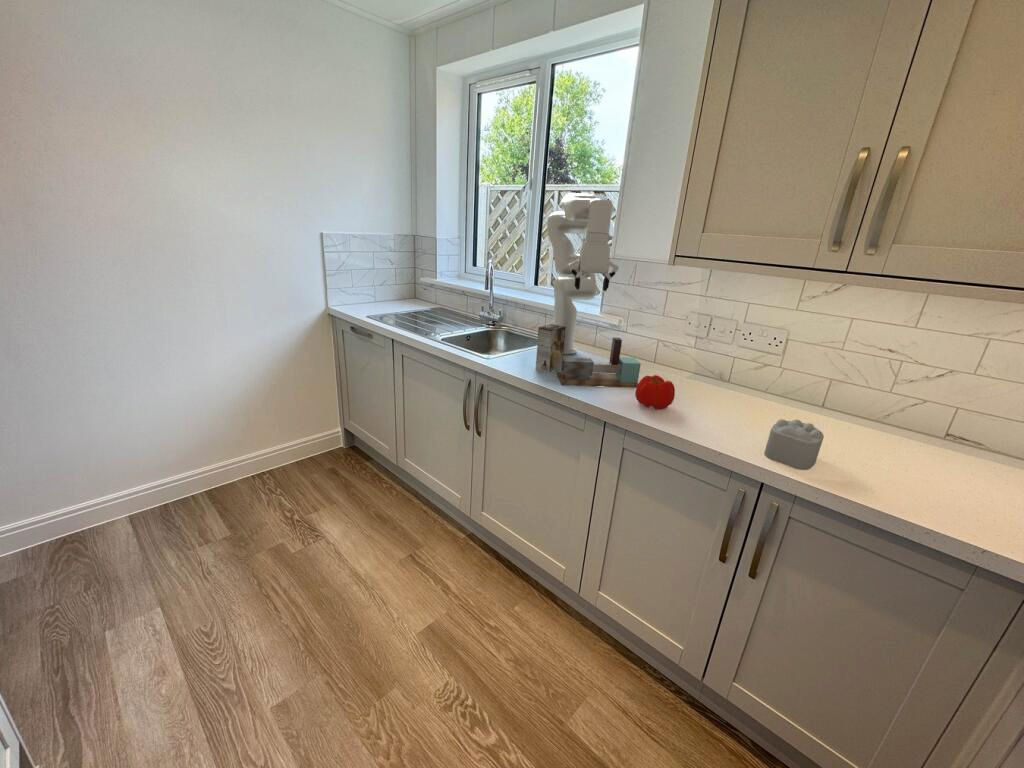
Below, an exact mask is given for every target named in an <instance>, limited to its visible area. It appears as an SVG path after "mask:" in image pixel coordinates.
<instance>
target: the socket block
mask: <svg viewBox="0 0 1024 768" xmlns="http://www.w3.org/2000/svg"><path fill="white" fill-rule="evenodd" d="M619 363H621V364H622V367H621V374H619V373H614V374H615V376H616V377H617V378H618V380H619V381H620V382H628V383H639V379H640V378H639V377H640V372H641V362H640V361H639V360H637V359H636V357H628V356H627V357H625V356H623V357H622V356H620V358H619Z"/></svg>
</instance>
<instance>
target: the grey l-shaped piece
mask: <svg viewBox="0 0 1024 768" xmlns="http://www.w3.org/2000/svg"><path fill="white" fill-rule="evenodd" d="M622 343H623V339H622V338H620V337H612V341H611V348H610V357H609V361H593V362H594V365H593V373H614V374H616V373H619V374H621V367H622V364H621V363H619V358H620V357H621V351H622Z"/></svg>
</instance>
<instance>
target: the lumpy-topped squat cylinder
mask: <svg viewBox="0 0 1024 768" xmlns="http://www.w3.org/2000/svg"><path fill="white" fill-rule="evenodd" d="M824 437H825V436H824V433H823V432H822V431H821V430H820V429H818V428H816V427H815V426H814V425H813V423H810V422H807V423H806V422H802V421H801V420H799V419H793V420H785V419H782V418H780V419H779V420H777V421H776V423H775V424H773V425H772V427H771V428H770V432H769V435H768V439H767V442H766V446H765V449H764V456H765V458H767V459H768V460H770V461H772V462H776V463H778V464H782V465H786V466H788V467H790V468H792V469H794V470H800V471H808V470H810V469H812V468H813V467H814V466H815V464H816V463H817V460H818V456H819V454H820V449H821V446H822V444H823V440H824Z"/></svg>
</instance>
